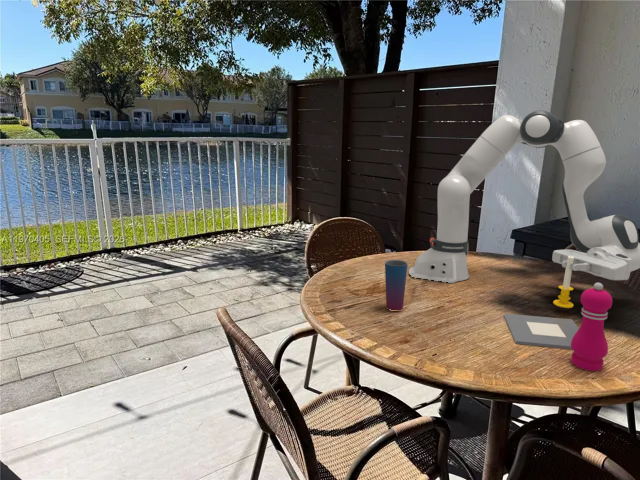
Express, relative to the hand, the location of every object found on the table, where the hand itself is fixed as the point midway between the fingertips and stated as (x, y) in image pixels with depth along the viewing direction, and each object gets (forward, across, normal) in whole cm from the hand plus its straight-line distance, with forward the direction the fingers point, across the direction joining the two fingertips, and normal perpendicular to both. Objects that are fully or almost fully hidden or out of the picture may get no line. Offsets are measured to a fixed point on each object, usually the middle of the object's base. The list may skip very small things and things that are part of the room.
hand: (568, 266), depth 123 cm
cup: (+44, -22, +16) cm, 52 cm away
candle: (-1, 0, +12) cm, 13 cm away
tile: (+15, +8, +15) cm, 22 cm away
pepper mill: (+20, +24, +15) cm, 34 cm away
